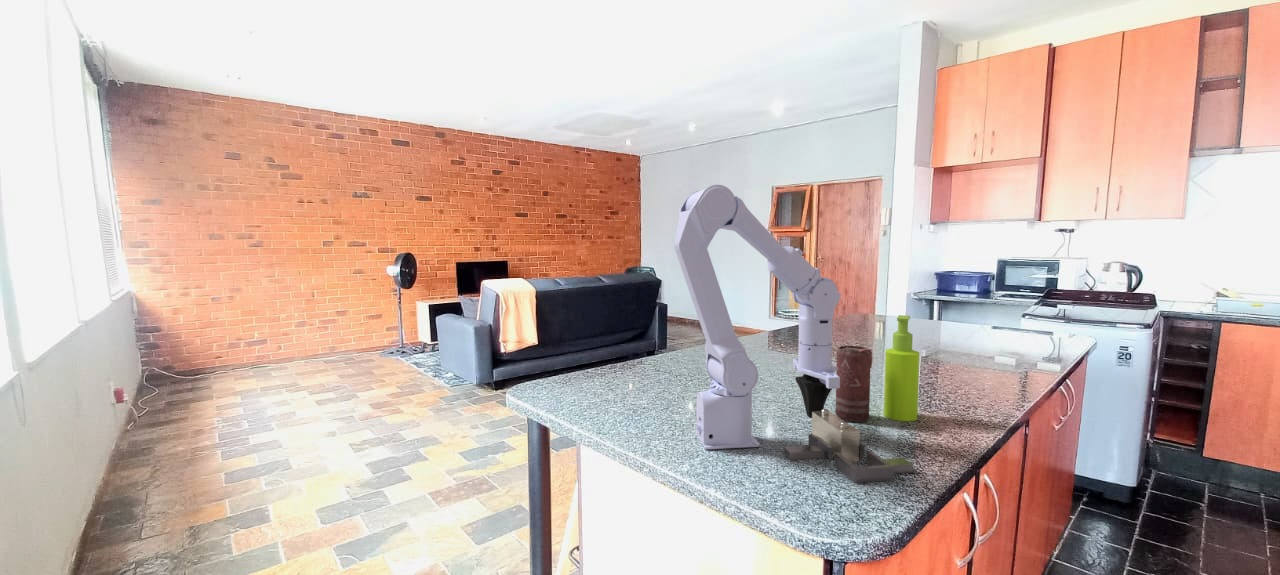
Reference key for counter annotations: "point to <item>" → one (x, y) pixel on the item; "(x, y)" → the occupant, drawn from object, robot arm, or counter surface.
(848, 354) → the can
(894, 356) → the soap dispenser
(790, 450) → the grey linked bars
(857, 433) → the studded metal block
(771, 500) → the counter surface
